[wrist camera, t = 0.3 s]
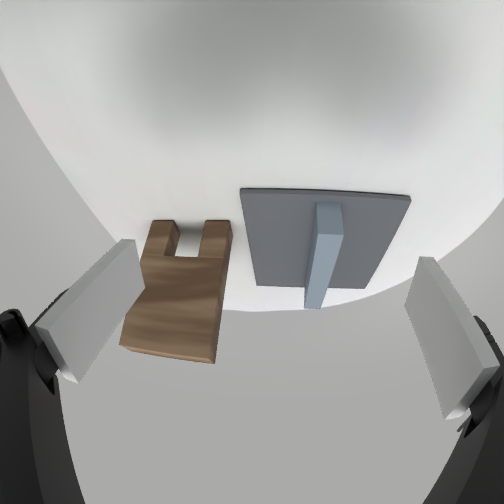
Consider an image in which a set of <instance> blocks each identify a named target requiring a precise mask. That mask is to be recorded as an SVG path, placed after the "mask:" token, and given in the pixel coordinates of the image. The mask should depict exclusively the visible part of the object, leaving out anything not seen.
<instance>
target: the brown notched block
mask: <svg viewBox="0 0 504 504" xmlns="http://www.w3.org/2000/svg"><path fill="white" fill-rule="evenodd" d="M179 237H180V233H179V231H178V229H177V227H176V225H175V223H174V221H153V222H152V225H151V228H150V231H149V234H148V237H147V240H146V243H145V246H144V250H143V253H142V256H141V260H140V267H141V272H142V276H143V280H144V285H145V289H144V290H143V291H142V293H141V294H140V295H139V297H138V298H137V299H136V301H135V302H134V304H133V305H132V306H131V308H130V309H129V311H128V312H127V313H126V315H125V320H124V324H123V329H122V333H121V337H120V342H119V345H121V346H123V347H124V348H126V349H128V350H130V351H133V352H139V353H144V354H150V355H155V356H161V357H167V358H174V359H180V360H187V361H195V362H203V363H211V364H215V358H216V351H217V344H218V336H219V329H220V321H221V314H222V307H223V300H224V293H225V286H226V279H227V272H228V265H229V258H230V251H231V245H232V238H233V234H232V230H231V226H230V222H229V221H205V226H204V230H203V235H202V239H201V244H200V249H199V253H198V257H178V256H175V253H176V249H177V245H178V241H179Z"/></svg>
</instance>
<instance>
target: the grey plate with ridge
mask: <svg viewBox="0 0 504 504" xmlns="http://www.w3.org/2000/svg"><path fill="white" fill-rule="evenodd" d="M240 199H241V204H242V209H243V215H244V220H245V226H246V231H247V236H248V242H249V247H250V252H251V258H252V263H253V269H254V274H255V279H256V285H257V286H278V287H305V295H304V308H308V309H320V308H321V305H322V302H323V300H324V297H325V294H326V291H327V288H352V289H365V288H366V286H367V284H368V283H369V281H370V279H371V278H372V276H373V274H374V272H375V271H376V269H377V267H378V265H379V263H380V262H381V260H382V258H383V256H384V254H385V253H386V251H387V249H388V247H389V245H390V243H391V241H392V239H393V237H394V236H395V234H396V232H397V230H398V228H399V226H400V224H401V222H402V220H403V218H404V216H405V214H406V211H407V209H408V207H409V205H410V203H411V198H410V197H407V196H396V195H384V194H370V193H355V192H337V191H314V190H277V189H240Z"/></svg>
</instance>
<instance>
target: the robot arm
mask: <svg viewBox="0 0 504 504" xmlns="http://www.w3.org/2000/svg"><path fill="white" fill-rule="evenodd" d="M144 289H145V285H144V280H143V276H142V272H141V267H140V262H139V257H138V253H137V247H136V242H135V240H133V239H121V240H120V241H119V242H118V243H117V244H116V245H115V246H114V247H112V248H111V249H110V250H109V251H108V252H107V253H106V254H105V255H104V256H103V257H102V258H101V259H99V260H98V261H97V262H96V263H95V264H94V265H93V266H92V267H91V268H90V269H89V270H88V271H87V272H86V273H85V274H84V275H83V276H82V277H81V278H80V279H79V280H77V281H76V282H75V283H74V284H73V285H72V286H71V287H70V288H69V289H67V290H65V291H64V292H62V293H61V294H60V295H59V296H58V297H57V298H56V299H55V300H54V302H52V303H51V304H50V305H49V306H48V308H46V309H45V310H44V311H43V312H42V313H41V314H40V315H39V317H38V318H37V319H36V320H35V321H34V322H33V323H32V324H31V325H30V327H28V326H27V324H26V322H25V320H24V318H23V316H22V314H21V312H20V311H19V310H18V309H9V310H7V311H4V312H3V313H2V314H0V336H1V337H0V504H85V502H84V499H83V496H82V493H81V490H80V486H79V483H78V480H77V476H76V473H75V470H74V466H73V462H72V458H71V454H70V449H69V445H68V440H67V436H66V431H65V425H64V420H63V414H62V407H61V400H60V392H59V384H58V378H57V376H56V375H55V373H56V371H57V370H58V368H59V370H60V371H61V373H62V374H63V376H64V378H66V379H68V380H71V381H73V382H75V383H78V384H79V383H80V381H81V380H82V378H83V377H84V375H85V373H86V372H87V370H88V369H89V367H90V366H91V364H92V363H93V361H94V360H95V358H96V357H97V355H98V354H99V352H100V351H101V349H102V348H103V346H104V345H105V343H106V342H107V340H108V339H109V338H110V336H111V334H112V333H113V332H114V330H115V329H116V327H117V326H118V324H119V323H120V322H121V320H122V319H123V318H124V316H125V315H126V313H127V312H128V311H129V309H130V308H131V306H132V305H133V304H134V302H135V301H136V299H137V298H138V297H139V295H140V294H141V293H142V291H143V290H144ZM405 308H406V310H407V313H408V315H409V318H410V320H411V323H412V325H413V328H414V330H415V333H416V335H417V338H418V341H419V343H420V346H421V348H422V351H423V354H424V357H425V360H426V363H427V365H428V368H429V371H430V374H431V377H432V380H433V383H434V387H435V390H436V393H437V396H438V400H439V403H440V407H441V410H442V414H443V417H444V420H447V419H452V418H457V417H461V416H462V415H463V413H464V412H465V411H466V410H467V409H468V408H470V411H471V415H470V416H469V417H468V418H467V420H466V421H465V422H464V423H463V424H462V425H461V426H460V427H459V428H458V430H457V431H458V432H459V431H460V430H461V429H462V428H463V430H462V433H461V435H460V437H459V439H458V441H457V444H456V446H455V448H454V450H453V452H452V454H451V456H450V458H449V460H448V462H447V464H446V465H445V467H444V469H443V471H442V473H441V475H440V476H439V478H438V480H437V482H436V483H435V485H434V487H433V488H432V490H431V491H430V493H429V495H428V496H427V498H426V499H425V501H424V503H423V504H504V356H503V354H502V352H501V350H500V348H499V347H498V345H497V343H496V342H495V340H494V338H493V336H492V335H491V334H490V331H489V329H488V328H487V326H486V324H485V323H484V322H483V321H482V320H481V319H480V318H479V317H477V316H473V315H472V314H471V312H470V311H469V309H468V307H467V306H466V304H465V303H464V301H463V300H462V298H461V296H460V295H459V293H458V292H457V290H456V289H455V287H454V286H453V284H452V283H451V281H450V280H449V279H448V277H447V276H446V274H445V273H444V271H443V270H442V269H441V267H440V266H439V264H438V263H437V262H436V260H435V259H434V258H433V257H421V256H419V260H418V264H417V267H416V271H415V274H414V278H413V281H412V284H411V288H410V291H409V294H408V297H407V300H406V303H405Z"/></svg>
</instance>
